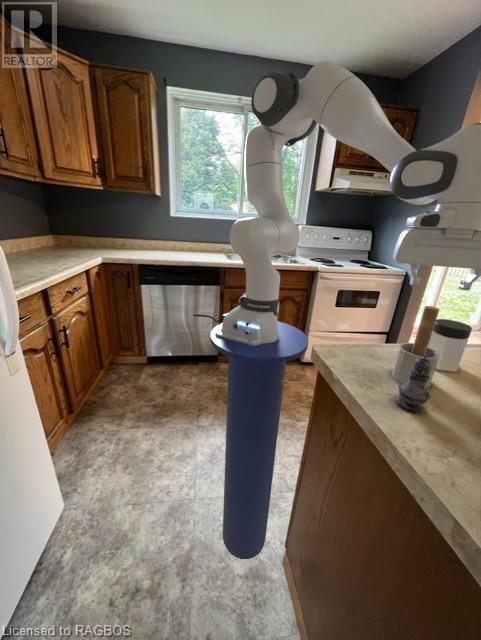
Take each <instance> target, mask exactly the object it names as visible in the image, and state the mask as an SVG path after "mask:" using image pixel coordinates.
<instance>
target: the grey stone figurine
mask: <svg viewBox="0 0 481 640" xmlns="http://www.w3.org/2000/svg"><path fill="white" fill-rule="evenodd" d="M426 357H427V356H426V355H424V356H423V357H422V358H417V359H416V360H415V362H414V365H413V369H412V370H411V371H409V374H410V377H409V380H408V382H407V383H399V384H398V385H397V389H398V393H399V397H397V398H395V403H396V405H397V406H398V407H399V408H401V409H402V410H404V411H406V412H408V413H412V414H422V413H424V412H425V406H424V405H425V404H426V403H427V402H428V400H430V399H431V398H432V395H431V392H429V390H427V388H425V385H426V382H427V380H429V379H430V377H429V376H428V374H429V371H430V368H431V362H430V361H429V360H428V359H427V358H426Z"/></svg>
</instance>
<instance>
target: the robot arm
mask: <svg viewBox="0 0 481 640" xmlns="http://www.w3.org/2000/svg"><path fill="white" fill-rule="evenodd" d="M250 105H251V111H252V114H253V115H254V118H256V120H257V121H258V122H259V123H260V124H258V125H255V126H253V127H252V128H251V129H250V130H249V131H248V133H247V134H246V139H245V147H244V179H245V196H246V199H247V201H248V202H249V204H250V205H252V207H254V209H255V211H256V213H257V215H258V217H256V216H255V217H254V216H253V217H252V216H251V217H245V218H241V219H238V220H236V221H235V222H234V223H233V224H232V226H231V228H230V231H229V242H230V243H229V244H230V246H231V248H232V249H233V251H234V252H235V253H236V254H237V255H238V256H239V257H240V259H241V261H242V263H243V267H244V271H245V292H244V293H243V294H241V296H240V297H239V299H238V304H239V305H238V306H236V307H235V308H233V309H231V310H230V311H229V312H227V313H224V314H222V315H221V316H219V318H218V320H217V319H216V318H214V316H212V315H208V314H195V313H194V314H192V316H193V317H199V318H201V317H202V318H210V319H211V320H213V321H214V322H215V323H220V322H221V321H222V322H221V323H223V324H221V323H220V324H221V325H220V326H219V327H218V328H217V329H216V336H218V337H222V338H225V339H229V340H233V341H236V342H240V343H244V344H247V345H251V346H256V345H259V344H265V343H271V342H275V341H277V340H278V339H279V332H278V324H277V321H278V315H279V312H280V297H279V296H280V286H281V285H280V284H281V274H280V272H279V271H278V270H277V269H276V268H275V267H274V265H273V262H272V255H283V254H287V253H289V252H291V251H293V250H295V249H296V248H297V247H298V245H299V243H300V240H301V230H300V228H299V226H298V225H297V224H296V223H295V222H294V220H293V218H292V217H291V214H290V212H289V209H288V206H287V202H286V199H285V192H284V179H283V178H284V176H283V149H284V147H285V146H286V147H293V146H294V145H295V144H296V143H297V142H300V141H303V140H305V139H306V138H307V137H309V136H310V135H311V134H312V133H313V131H314V130H315V128H316V127H317V124H318V125H319V126H320V128H321V129H323V130H324V131H325V132H326V133H327V134H328V135H329V136H331V137H332V138H334V139H335V140H337V141H338V142H341V143H343V144H345V145H347V146H349V147H351V148H354V149H356V150H358V151H361V152H363V153H365V154H367V155H369V156H371V157H372V158H373V159H375V160H376V161H377V162H379V164H381V165H382V166H383V167H384V168H385V169H386V170H387V171H388V172H390V179H389V182H390V183H389V185H390V189H391V192H392V193H393V195H394V196H395V197H396V198H398V199H399V200H401V201H404V202H406V203H409V204H410V205H411V206H413V207H416V208H421V209H422V208H423V209H424V208H431V207H433V206H435V209H434V210H432V211H425V212H423V213H420V214H417V215H413V216H410V217H408V218H407V220H406V222H405V225H406V227H407V228H405V229H404V230H402V231H401V232H400V234H399V236H398V238H397V241H396V243H395V246H394V249H393V253H392V259H393V261H394V262H395V263H397V264H405V265H408V267H407V269H408V272H409V275H410V280H409V285H410V286H417V287H419V286H420V284H421V280H422V278H421V277H420V276H418V275H417V272H416V271H417V270H418V269H419V266H430V267H431V266H432V267H443V268H444V267H446V268H457V269H470V270H469V273H470V275H469V276H468V277H467V278H466V279H465V280H460V281H459V285H458V290H461V291H471V289H472V286H473V284H474V283H475V282H476V281H478V279H480V277H481V122H475V123H472V124H467V125H464V126H463V127H462V128H460V129H459V130H458V131H456V132H455V133H453V134H452V135H451V136H449V137H447V138H445V139H443V140H442V141H440V142H437V143H435V144H433V145H430V146H427V147H425V148H422V149H419V150H416V149H415V147H414V146H412V145H411V144H410V143H409V142H408V141H407V140H406V139H405V138H403V137H402V136H401V135H400V134H399V133H398V132H397V131H396V130H395V128H394V127H393V125H392V124H391V122H390V121H389V119H388V117H387V115H386V114H385V112H384V110H383V108H382V107H381V105H380V104H379V102H378V100H377V98H376V96H374V94H373V93H372V91H371V90H370V89H369V87H368V86H367V85H366V83H364V82H363V81H362V79H360V78H359V77H358V76H356V75H355V74H354V73H353V72H351V71H350V70H348V69H347V68H345V67H343V66H341V65H340V64H337V63H335V62H333V61H330V60H322V61H319V62H318V63H316V64H314V66H312V67H311V68H310V70H309V71H308V72H307V74H306V75H305V76H304V77H303V78H301V79H299V78H298V75H297V73H296V72H277V71H276V72H272V71H271V72H268V73H266V74H264V75H263V76H262V77H260V78H259V80H258V81H257V83H256V84H255V86H254V88H253V91H252V94H251V99H250Z"/></svg>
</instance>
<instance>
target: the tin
mask: <svg viewBox="0 0 481 640" xmlns="http://www.w3.org/2000/svg"><path fill="white" fill-rule="evenodd" d="M413 345H414V342H402V343H400V344H399V346H398V350H397V352H396V356H395V361H394V364H393V366H392V371H391V376H392V378H393V379H394V380H395V381H396V382H398V383H399V384H401V383H407V382H408V380H409V377H410V374H409V371H411V370H412V369H413V365H414V362H415V360H416V359H417V358H422V357H421V356H417V355H414V354H411V352H412V348H413ZM425 355H426V356H427V357H426V358H427V359H428V360H429V361H430V362H431V368H430V371H429V374H428V376H429V377H430V379H429V380H427V382H426V385H425V389H428V388H430V386H431V384H432V381H433V378H434V375H435V372H436V370H437V369H436V366H437V363H438V360H439V357H440V354H439V353H438V352H437V351H435V350H434V349H432V348H429V347H427V351H426V354H425Z"/></svg>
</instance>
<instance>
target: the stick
mask: <svg viewBox="0 0 481 640" xmlns="http://www.w3.org/2000/svg"><path fill="white" fill-rule="evenodd" d="M439 313H440V308H439V307H436V306H433V305H432V306H431V305H425V306H424V308H423V311H422V314H421V318H420V321H419V324H418V329H417V331H416V335H415V338H414V341H413V343H414V345H413V348H412V352H411V354H414V355H417V356H421V357H423V356H424V355H425V354H426V351H427V347H428V344H429V341H430V338H431V335H432V332H433V328H434V325H435V322H436V319H438V315H439Z"/></svg>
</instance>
